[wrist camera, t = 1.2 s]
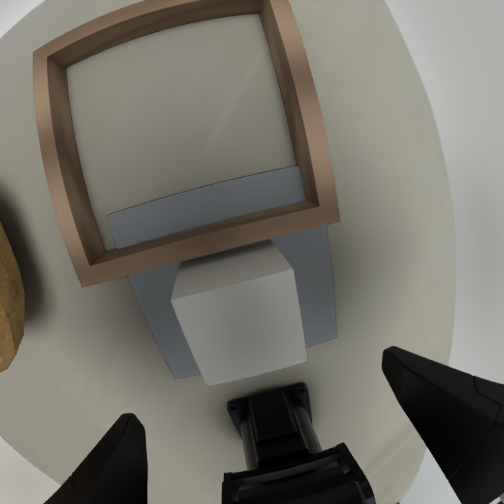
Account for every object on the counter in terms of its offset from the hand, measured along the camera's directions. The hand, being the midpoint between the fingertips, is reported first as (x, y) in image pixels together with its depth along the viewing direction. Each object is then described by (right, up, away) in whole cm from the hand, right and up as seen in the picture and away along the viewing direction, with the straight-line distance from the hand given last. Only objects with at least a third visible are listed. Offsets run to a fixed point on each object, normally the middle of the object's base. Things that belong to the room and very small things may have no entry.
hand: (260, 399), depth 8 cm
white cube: (-1, +3, +8) cm, 9 cm away
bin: (-4, +12, +5) cm, 14 cm away
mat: (-1, +3, +9) cm, 9 cm away
